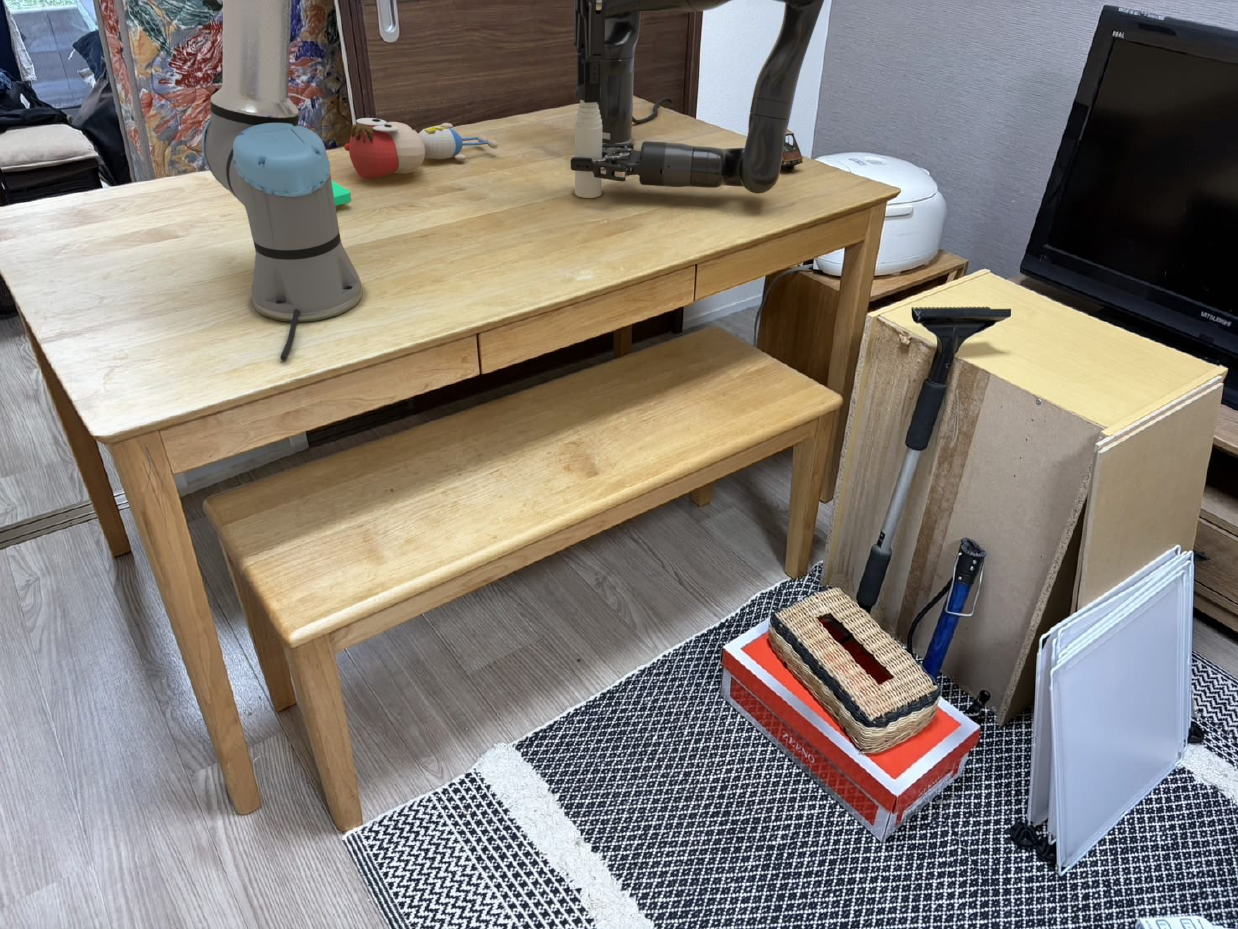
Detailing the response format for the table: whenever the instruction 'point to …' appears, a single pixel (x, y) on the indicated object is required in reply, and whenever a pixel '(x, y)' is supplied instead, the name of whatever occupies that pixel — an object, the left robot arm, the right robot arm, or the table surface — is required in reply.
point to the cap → (582, 92)
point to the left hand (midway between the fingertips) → (588, 97)
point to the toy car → (791, 153)
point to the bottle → (588, 148)
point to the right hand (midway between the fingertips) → (574, 158)
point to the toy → (402, 146)
